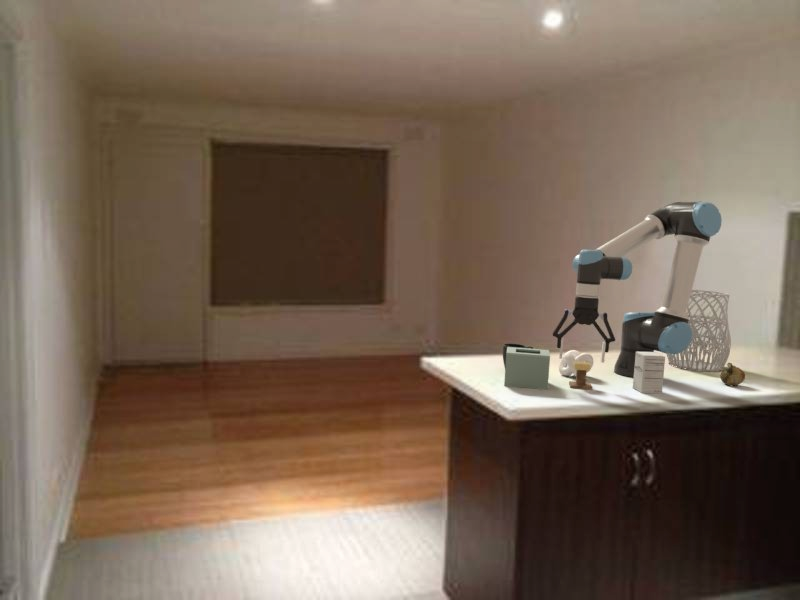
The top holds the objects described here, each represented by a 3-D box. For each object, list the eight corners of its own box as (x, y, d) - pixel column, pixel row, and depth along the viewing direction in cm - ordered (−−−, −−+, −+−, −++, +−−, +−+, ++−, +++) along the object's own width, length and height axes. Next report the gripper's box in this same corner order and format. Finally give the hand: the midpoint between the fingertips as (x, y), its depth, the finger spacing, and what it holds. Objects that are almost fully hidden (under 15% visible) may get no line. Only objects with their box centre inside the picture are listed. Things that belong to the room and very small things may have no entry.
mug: (537, 372, 270) (539, 346, 269) (509, 374, 266) (510, 347, 265) (525, 368, 278) (527, 343, 277) (497, 369, 273) (499, 343, 272)
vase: (710, 375, 283) (717, 296, 280) (651, 363, 301) (658, 289, 298) (739, 369, 299) (746, 294, 296) (682, 358, 317) (688, 288, 314)
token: (588, 368, 252) (589, 362, 252) (589, 370, 247) (590, 364, 247) (573, 366, 253) (573, 360, 253) (574, 369, 248) (574, 363, 248)
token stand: (590, 385, 254) (591, 367, 253) (592, 389, 247) (593, 371, 246) (569, 383, 255) (570, 366, 254) (570, 387, 248) (571, 369, 247)
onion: (742, 388, 261) (744, 366, 260) (717, 385, 265) (719, 362, 264) (745, 385, 267) (747, 363, 266) (721, 381, 271) (723, 360, 270)
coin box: (546, 381, 255) (548, 350, 254) (547, 389, 244) (550, 355, 242) (505, 378, 258) (507, 346, 256) (504, 385, 246) (506, 352, 245)
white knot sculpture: (589, 381, 259) (591, 356, 258) (554, 377, 263) (556, 352, 262) (593, 376, 270) (595, 351, 269) (559, 372, 274) (561, 348, 273)
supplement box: (631, 388, 252) (635, 351, 251) (653, 388, 253) (656, 351, 252) (640, 393, 245) (644, 355, 244) (662, 393, 246) (666, 355, 244)
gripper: (624, 298, 249) (618, 361, 251) (548, 292, 253) (543, 354, 255) (627, 300, 242) (621, 365, 244) (549, 294, 246) (543, 358, 248)
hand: (581, 360), depth 250 cm, fingers open, 13 cm apart
